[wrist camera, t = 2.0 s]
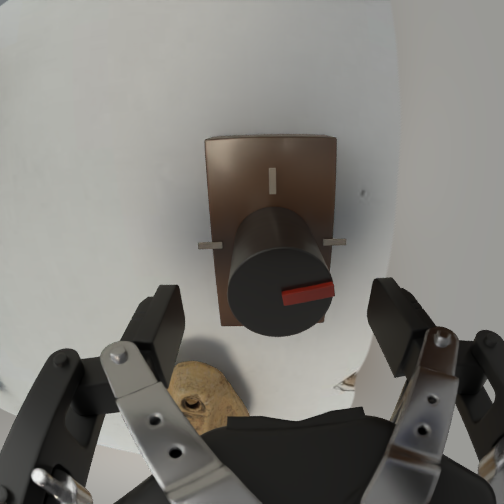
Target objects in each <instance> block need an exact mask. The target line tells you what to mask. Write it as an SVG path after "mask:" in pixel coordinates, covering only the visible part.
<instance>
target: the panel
mask: <svg viewBox="0 0 504 504" xmlns="http://www.w3.org/2000/svg"><path fill="white" fill-rule="evenodd" d="M204 142H205V158H206V173H207V186H208V199H209V212H210V223H211V235H212V242H203V243H198V249H213V256H214V266H215V276H216V285H217V294H218V303H219V312H220V320H221V326H243V325H242V324H241V323H240V322H239V321H238V320H237V319H236V318H235V316H234V315H233V313H232V311H231V309H230V307H229V304H228V299H227V289H228V281H229V274H230V268H231V261H232V254H233V247H234V241H235V235H236V232H237V229H238V227H239V226H240V224H241V223H242V221H243V220H244V219H245V218H246V217H247V216H248V215H250V214H251V213H253V212H255V211H256V210H259V209H262V208H266V207H282V208H286V209H289V210H291V211H293V212H295V213H297V214H298V215H299V216H300V217H301V218H302V219H303V220H304V221H305V222H306V224H307V226H308V227H309V229H310V232H311V234H312V236H313V238H314V240H315V242H316V244H317V246H318V248H319V250H320V252H321V254H322V257H323V259H324V261H325V263H326V265H327V267H328V269H329V272H330V263H331V252H332V245H346V239H333V225H334V209H335V189H336V156H337V139H336V138H335V137H331V136H326V135H310V134H261V135H234V136H217V137H211V138H208V139H206V140H205V141H204ZM324 318H325V315H324V316H323V317H322V318H321V319H320V320H319V321H318V322H317V323H323V322H324Z"/></svg>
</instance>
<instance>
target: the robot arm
mask: <svg viewBox="0 0 504 504" xmlns="http://www.w3.org/2000/svg"><path fill="white" fill-rule="evenodd" d="M367 318H368V323H369V325H370V327H371V329H372V331H373V333H374V335H375V337H376V339H377V341H378V343H379V345H380V347H381V349H382V352H383V354H384V355H385V358H386V360H387V362H388V364H389V366H390V369H391V371H392V373H393V375H394V377H395V378H396V377H401V376H406V378H407V380H406V382H405V384H404V387H403V389H402V392H401V395H400V397H399V400H398V402H397V404H396V407H395V409H394V412H393V414H392V416H391V419H390V421H388V420H385V419H383V418H378V417H374V416H367V415H365V413H364V410H363V407H355V408H349V409H342V410H334V411H329V412H326V413H324V414H321V415H318V416H314V417H311V418H308V419H305V420H302V421H289V420H282V419H276V418H270V417H264V416H227V426H223V427H219V428H215V429H212V430H210V431H208V432H205V433H203V434H202V435H199V434H198V432H197V431H196V430H195V429H194V427H193V426H192V425H191V423H190V422H189V420H188V419H187V418H186V416H185V415H184V414H183V412H182V411H181V409H180V408H179V407H178V405H177V404H176V402H175V401H174V399H173V398H172V396H171V395H170V393H169V392H168V390H167V389H168V388H169V384H170V381H171V377H172V373H173V369H174V366H175V362H176V358H177V355H178V351H179V348H180V344H181V340H182V337H183V333H184V330H185V316H184V310H183V305H182V300H181V294H180V289H179V286H178V285H159V287H158V289H157V291H156V293H155V295H154V297H147V298H146V299H145V300H143V301H142V302H141V303H140V304H139V306H138V308H137V309H136V311H135V313H134V315H133V317H132V320H131V321H130V323H129V324H128V326H127V328H126V330H125V332H124V334H123V336H122V338H121V340H120V341H118V342H114V343H112V344H110V345H108V346H107V347H106V348H105V349H104V350H103V351H102V352H101V355H100V357H94V358H87V359H80V357H79V355H78V353H77V352H76V351H75V350H73V349H67V348H66V349H61V350H58V351H56V352H54V353H53V354H52V355H51V356H50V357H49V358H48V359H47V361H46V363H45V364H44V366H43V368H42V370H41V371H40V373H39V375H38V377H37V378H36V380H35V382H34V384H33V386H32V388H31V389H30V391H29V393H28V395H27V397H26V399H25V401H24V403H23V405H22V407H21V409H20V411H19V413H18V415H17V417H16V419H15V421H14V423H13V425H12V427H11V430H10V432H9V434H8V437H7V439H6V441H5V443H4V446H3V448H2V450H1V453H0V504H93V499H92V496H91V494H90V493H89V491H88V490H87V489H86V488H85V486H86V482H87V478H88V473H89V470H90V466H91V462H92V458H93V455H94V451H95V447H96V444H97V441H98V437H99V434H100V430H101V427H102V424H103V421H104V417H105V414H108V413H116V412H120V413H121V415H122V417H123V420H124V422H125V424H126V426H127V428H128V430H129V432H130V434H131V436H132V438H133V440H134V442H135V444H136V446H137V447H138V449H139V451H140V453H141V455H142V457H143V458H144V460H145V462H146V463H147V465H148V467H149V469H150V471H151V472H152V475H151V476H150V477H148V478H147V479H146V480H145V481H143V482H142V483H141V484H139V485H138V486H137V487H135V488H134V489H133V490H132V491H130V492H129V493H127V494H126V495H125V496H123V497H122V498H121V499H119V500H118V501H117V502H115V503H114V504H504V341H503V339H502V338H501V337H500V336H499V335H498V334H496V333H494V332H492V331H489V330H482V331H479V332H478V333H477V334H476V337H475V339H474V341H462V340H459V339H458V337H457V336H456V334H455V333H453V331H451V330H449V329H447V328H444V327H437V326H436V325H435V324H434V323H433V321H432V320H431V319H430V317H429V316H428V315H427V313H426V312H425V310H424V309H422V307H421V305H420V304H419V303H418V302H417V300H416V299H415V297H414V296H413V295H412V294H411V293H410V292H408V291H407V290H405V289H403V288H400V287H399V286H398V284H397V283H396V282H395V280H394V279H393V278H391V277H390V278H376V279H374V281H373V284H372V289H371V294H370V299H369V304H368V309H367ZM487 378H488V380H489V382H490V384H491V385H492V387H493V389H494V391H495V401H494V403H492V401H491V400H490V398H489V396H488V394H487V392H486V390H485V389H484V387H483V385H484V383H485V382H486V380H487ZM455 404H456V406H457V408H458V411H459V413H460V415H461V417H462V420H463V422H464V424H465V427H466V429H467V431H468V434H469V436H470V439H471V441H472V444H473V446H474V449H475V452H476V454H477V457H478V459H479V465H478V474H476V473H474V472H472V471H470V470H469V469H467V468H465V467H464V466H462V465H460V464H458V463H456V462H455V461H453V460H452V459H450V458H448V457H447V456H445V455H444V454H443V451H444V447H445V443H446V440H447V436H448V433H449V428H450V425H451V420H452V415H453V411H454V406H455Z"/></svg>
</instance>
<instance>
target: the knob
mask: <svg viewBox="0 0 504 504" xmlns="http://www.w3.org/2000/svg"><path fill="white" fill-rule="evenodd" d="M333 296H335V292H334V284H333V280H332V277H331V274H330V272H329V269H328V267H327V265H326V263H325V261H324V259H323V257H322V254H321V252H320V250H319V248H318V246H317V244H316V242H315V240H314V238H313V236H312V234H311V232H310V229H309V227H308V226H307V224H306V222H305V221H304V220H303V219H302V218H301V217H300V216H299V215H298V214H297V213H295V212H293V211H291V210H289V209H286V208H282V207H266V208H262V209H259V210H256V211H255V212H253V213H251V214H250V215H248V216H247V217H246V218H245V219H244V220H243V221H242V223H241V224H240V226H239V227H238V229H237V232H236V235H235V241H234V247H233V254H232V261H231V268H230V274H229V281H228V289H227V299H228V304H229V307H230V309H231V311H232V313H233V315H234V316H235V318H236V319H237V320H238V321H239V322H240V323H241V324H242V325H243V326H245V327H246V328H247V329H249V330H251V331H253V332H255V333H258V334H261V335H265V336H272V337H284V336H290V335H295V334H298V333H301V332H303V331H305V330H307V329H309V328H310V327H312V326H313V325H315V324H316V323H317V322H318V321H319V320H320V319H321V318H322V317H323V316H324V315H325V313H326V312H327V310H328V309H329V306H330V304H331V301H332V298H333Z"/></svg>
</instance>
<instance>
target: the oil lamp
mask: <svg viewBox="0 0 504 504" xmlns="http://www.w3.org/2000/svg"><path fill="white" fill-rule="evenodd" d="M167 390H168V392H169V393H170V395H171V396H172V398H173V399H174V401H175V402H176V404H177V405H178V407H179V408H180V409H181V411H182V412H183V414H184V415H185V416H186V418H187V419H188V420H189V422H190V423H191V425H192V426H193V427H194V429H195V430H196V431H197V432H198V434H199V435H202V434H203V433H205V432H208V431H210V430H212V429H215V428H219V427H223V426H227V416H250V415H249V413H248V411H247V408H246V407H245V405H244V403H243V402H242V400H241V399H240V398H239V396H238V395H237V394H236V392H235V391H234V390H233V388H232V386H231V384H230V383H229V382H228V381H227V380H226V377H225V376H224V375H223V373H222V372H221V371H219V370H218V369H216V368H215V367H212V366H210V365H208V364H206V363H202V362H197V361H186V362H181V363H178V364H177V365H176V366H174V369H173V373H172V377H171V381H170V384H169V388H168V389H167Z"/></svg>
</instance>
